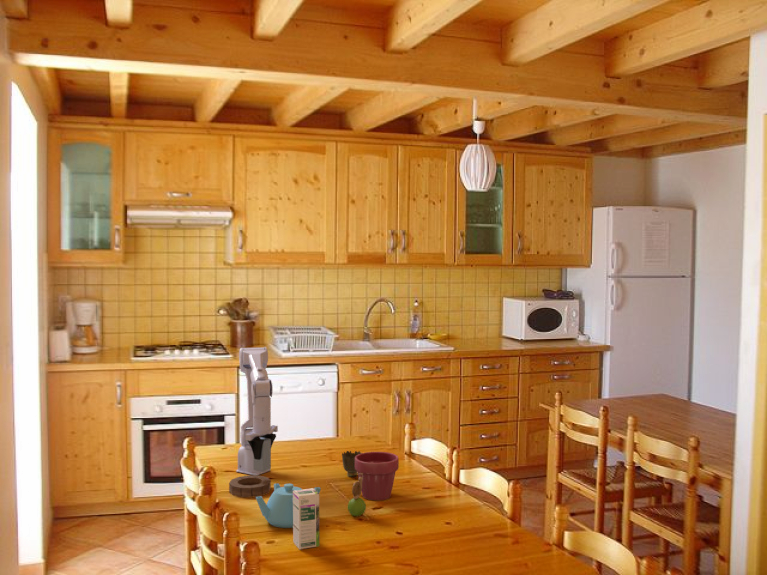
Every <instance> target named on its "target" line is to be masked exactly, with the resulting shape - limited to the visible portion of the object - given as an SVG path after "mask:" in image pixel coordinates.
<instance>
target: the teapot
mask: <svg viewBox="0 0 767 575" xmlns="http://www.w3.org/2000/svg"><path fill="white" fill-rule="evenodd" d="M313 489H315V490H316V491H317V492H318V493H319V494H320V492H321V487H320V486H317V487H316V486H315V487H314V488H313ZM294 490H303V489H302V487H298V486H295V485H294V484H293V483H285V484H283V486H280V483H273V492H272V493H271V495H270V497H269V498H268V500H267V503H266V502H265V500H264V498H263V496H256V497H255V500H256V502H257V504H258V508H259V510H260V512H261V515H262V517H264V518H265V520H266V521H267V522H268V524H270V525H271V526H272V527H276V528H280V529H281V528H282V529H290V528H291V529H293V491H294Z"/></svg>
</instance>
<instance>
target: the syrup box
mask: <svg viewBox="0 0 767 575" xmlns="http://www.w3.org/2000/svg"><path fill="white" fill-rule="evenodd" d="M292 533H293V534H292V539H293V541H292V542H293V543H294V545H295V546H296V548H298V549H299V550H304V549H309V548H310V549H311V548H315V547H316V548H317V547H320V493H318V492H317V491H316V490H315V489H314V488H313V487H311V488H306V489H302V490H294V491H293V528H292Z"/></svg>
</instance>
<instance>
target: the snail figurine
mask: <svg viewBox="0 0 767 575" xmlns="http://www.w3.org/2000/svg"><path fill="white" fill-rule="evenodd" d="M359 474H361V475H363V473H359ZM362 480H363V478H362V477H358V481H357V480H355V482H354V483H353V484H352V488H351V494H352V496H353V497H352V498H351V499H350V500H349V501H348V504H347V511H348V512H349V514H350V515H351V516H353V517H360V516H362V515H363V514H364V513H365V512H366V509H367V508H366V507H367V506H366V505H367V504H366V502H365V500H364V499H363V498H361V495H362V491H361V490H362Z"/></svg>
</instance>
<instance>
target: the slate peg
mask: <svg viewBox="0 0 767 575" xmlns="http://www.w3.org/2000/svg"><path fill="white" fill-rule="evenodd" d="M260 439H263V440H264V442H263V445H262V452H261V459H260V460H257V459H254V470H256V471H261V472H264V471H267V470H269V469H270V470H271V467H272V459H271V458H272V456H271V454H272V447H271V439H268V438H262V437H261V438H260ZM267 472H268V471H267Z"/></svg>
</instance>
